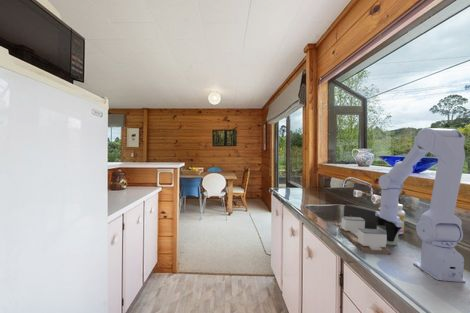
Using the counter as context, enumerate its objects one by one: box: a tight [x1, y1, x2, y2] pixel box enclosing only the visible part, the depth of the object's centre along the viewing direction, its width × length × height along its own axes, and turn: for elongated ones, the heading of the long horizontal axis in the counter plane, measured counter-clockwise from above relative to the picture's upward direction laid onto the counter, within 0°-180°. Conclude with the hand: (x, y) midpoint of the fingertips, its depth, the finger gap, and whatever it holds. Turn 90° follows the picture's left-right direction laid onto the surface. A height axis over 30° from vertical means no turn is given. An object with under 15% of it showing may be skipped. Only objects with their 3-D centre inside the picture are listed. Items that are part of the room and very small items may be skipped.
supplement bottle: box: [397, 203, 406, 235], centre depth 102 cm, size 7×7×13 cm
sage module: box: [377, 225, 399, 246], centre depth 90 cm, size 4×6×6 cm, turn 86°
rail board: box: [338, 226, 391, 255], centre depth 90 cm, size 22×9×2 cm, turn 177°
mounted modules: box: [341, 215, 387, 248], centre depth 90 cm, size 19×8×5 cm, turn 177°
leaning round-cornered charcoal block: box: [343, 204, 379, 229], centre depth 107 cm, size 16×5×9 cm, turn 39°
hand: (386, 238), depth 90 cm, fingers closed on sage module, 4 cm apart
